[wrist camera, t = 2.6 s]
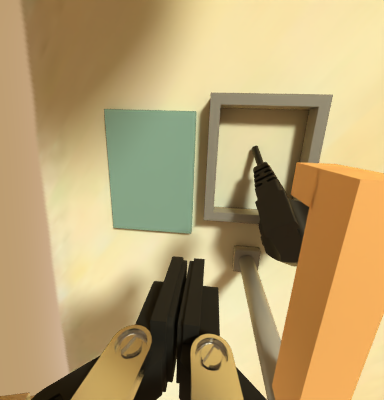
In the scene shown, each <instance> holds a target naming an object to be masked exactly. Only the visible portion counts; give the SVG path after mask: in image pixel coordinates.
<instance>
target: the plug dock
mask: <svg viewBox="0 0 384 400" xmlns="http://www.w3.org/2000/svg"><path fill="white" fill-rule="evenodd" d="M332 97H333V95H318V94H258V93H211V100H210V118H209V136H208V154H207V172H206V190H205V208H204V220H212V221H226V222H240V223H254V224H259V222H260V217H259V213H258V210H257V209H242V208H226V207H214V194H215V180H216V165H217V151H218V136H219V122H220V108H259V109H302V110H309V114H308V119H307V125H306V130H305V136H304V141H303V147H302V152H301V158H300V163H319V159H320V154H321V149H322V145H323V140H324V135H325V130H326V126H327V121H328V116H329V111H330V107H331V102H332ZM293 200H296V201H300V200H298V199H297V198H295V197H294V196H293ZM300 202H301V201H300ZM259 259H260V249H259V248H256V247H244V246H234V255H233V265H232V267H233V271H239V272H241V274H242V279H243V284H244V289H245V293H246V298H247V303H248V308H249V313H250V317H251V322H252V327H253V332H254V337H255V341H256V346H257V351H258V356H259V361H260V366H261V370H262V375H263V380H264V385H265V390H266V394H267V399H268V400H275V396H274V392H273V388H272V383H273V378H274V374H275V369H276V364H277V359H278V355H279V350H280V345H281V340H280V337H279V334H278V331H277V328H276V325H275V322H274V319H273V316H272V313H271V310H270V307H269V304H268V301H267V298H266V295H265V292H264V289H263V286H262V283H261V280H260V277H259V274H258V266H259Z"/></svg>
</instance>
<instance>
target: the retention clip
mask: <svg viewBox="0 0 384 400" xmlns="http://www.w3.org/2000/svg"><path fill="white" fill-rule="evenodd" d="M291 195H293V196H294V197H295V198H297V199H298V200H300V201H301V202H303V203H304V204H305V205H307V206H308V207H309V212H308V217H307V222H306V226H305V231H304V236H303V241H302V245H301V250H300V255H299V260H298V264H297V269H296V274H295V279H294V283H293V288H292V293H291V298H290V302H289V307H288V312H287V317H286V321H285V326H284V331H283V336H282V340H281V345H280V350H279V355H278V359H277V364H276V369H275V374H274V378H273V383H272V388H273V392H274V396H275V400H351V398H352V396H353V393H354V390H355V388H356V385H357V382H358V380H359V377H360V375H361V372H362V369H363V367H364V364H365V361H366V359H367V356H368V353H369V351H370V348H371V346H372V343H373V340H374V338H375V335H376V332H377V330H378V327H379V324H380V322H381V319H382V317H383V314H384V173H379V172H374V171H369V170H363V169H358V168H353V167H348V166H343V165H338V164H322V163H300V162H297V163H296V169H295V174H294V180H293V185H292V191H291Z"/></svg>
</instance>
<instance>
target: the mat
mask: <svg viewBox="0 0 384 400" xmlns="http://www.w3.org/2000/svg"><path fill="white" fill-rule="evenodd" d="M104 114H105V126H106V139H107V151H108V164H109V176H110V189H111V201H112V213H113V226H114V228H125V229H138V230H151V231H164V232H177V233H190V234H191V232H192V210H193V184H194V158H195V132H196V111H161V110H121V109H104Z"/></svg>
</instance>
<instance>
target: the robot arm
mask: <svg viewBox="0 0 384 400" xmlns="http://www.w3.org/2000/svg"><path fill="white" fill-rule="evenodd" d="M204 260H205V259H195V258H194V261H190V263H189V268H188V273H187V261H185V260H183V257H172V260H171V263H170V266H169V268H168V271H167V274H166V277H165V280H164V282H159V281H154V282H153V284H152V287H151V289H150V291H149V294H148V296H147V298H146V301H145V303H144V305H143V308H142V310H141V312H140V315H139V317H138V320H137V322H136V324H135V325H131V326H127V327H125V328H123V329H121V330H120V331H119V332H117V333H116V335H115V336H114V337H113V338H112V340H111V341H110V343H109V344H108V346H107V347H106V349H105V350H104V351H103V353H102V354H101V355H100V356H99V357H97V358H95V359H94V360H92V361H90V362H88V363H87V364H85V365H83V366H82V367H80V368H78V369H77V370H75V371H73V372H72V373H70V374H68V375H66V376H65V377H63V378H61V379H60V380H58V381H56V382H55V383H53V384H51V385H49V386H48V387H46V388H44V389H43V390H42V391H40V392H39V393H37V394H36V395H35V396H30V393H22V394H14V395H6V396H0V400H157V399H158V398H159V397H160V396H161V395H162V392H166V388H167V382H172V381H173V377H174V371H175V365H176V359H177V378H176V383H180V384H179V398H180V400H266V398H265V397H264V396H263V395H262V394H261V393H260V392H259V391H258V390H257V389H256V388H255V387H254V386H253V385H252V383H251V382H250V381H249V380H248V379H247V378H246V377H245V376H244V375H243V374H242V373H241V372H240V371H239V370H238V368H237V367H236V366H235V362H234V357H233V353H232V350H231V348H230V346H229V344H228V343H227V342H226V341H225V340H224V339H223V338H221V337H220V330H219V297H218V287H208V286H203V276H204ZM186 277H187V279H186Z"/></svg>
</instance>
